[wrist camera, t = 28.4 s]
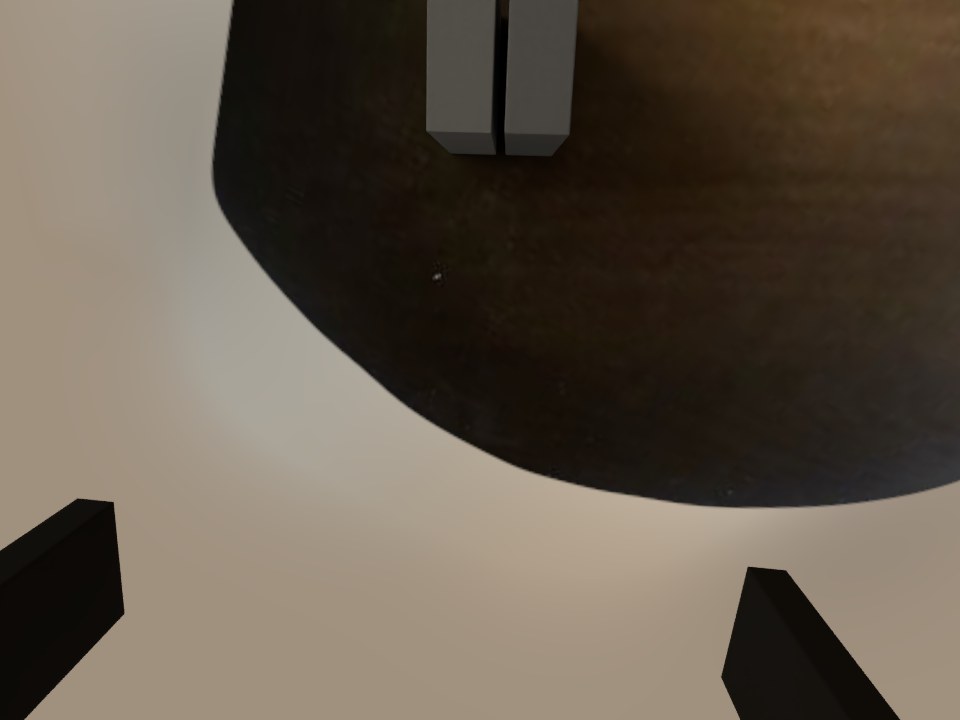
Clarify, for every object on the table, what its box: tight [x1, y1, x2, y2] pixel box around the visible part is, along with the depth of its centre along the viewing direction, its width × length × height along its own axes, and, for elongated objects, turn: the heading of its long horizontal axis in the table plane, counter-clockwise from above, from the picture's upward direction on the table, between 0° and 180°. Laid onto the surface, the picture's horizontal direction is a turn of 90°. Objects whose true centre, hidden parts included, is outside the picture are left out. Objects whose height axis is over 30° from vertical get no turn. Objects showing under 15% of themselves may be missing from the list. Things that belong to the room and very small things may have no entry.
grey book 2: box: [504, 0, 579, 156], centre depth 30 cm, size 8×3×11 cm, turn 178°
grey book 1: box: [426, 0, 501, 155], centre depth 30 cm, size 8×3×11 cm, turn 178°
